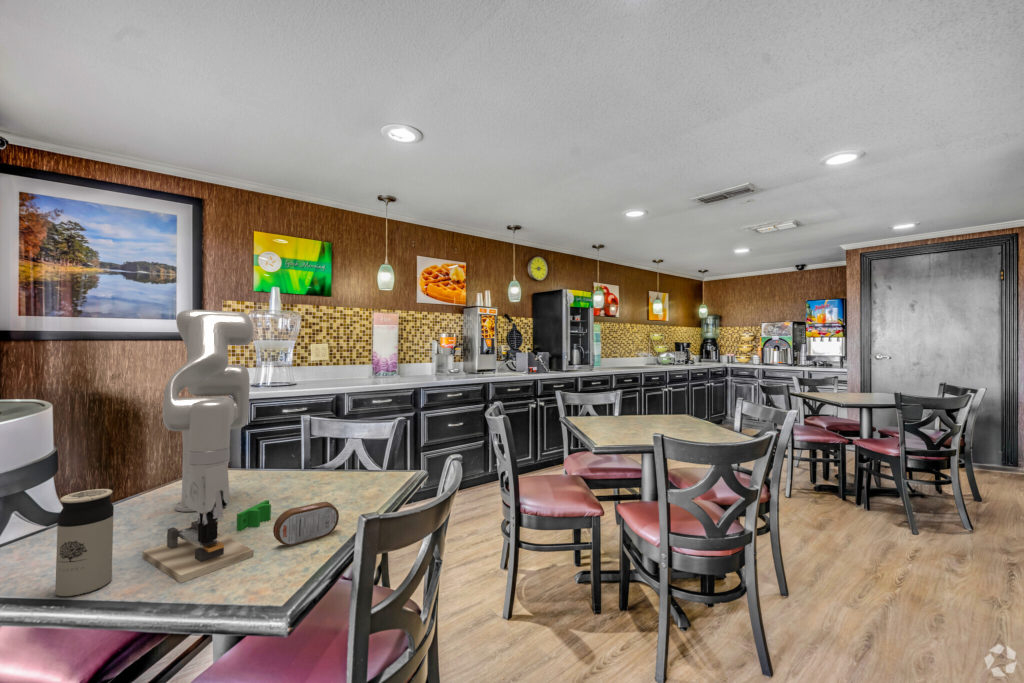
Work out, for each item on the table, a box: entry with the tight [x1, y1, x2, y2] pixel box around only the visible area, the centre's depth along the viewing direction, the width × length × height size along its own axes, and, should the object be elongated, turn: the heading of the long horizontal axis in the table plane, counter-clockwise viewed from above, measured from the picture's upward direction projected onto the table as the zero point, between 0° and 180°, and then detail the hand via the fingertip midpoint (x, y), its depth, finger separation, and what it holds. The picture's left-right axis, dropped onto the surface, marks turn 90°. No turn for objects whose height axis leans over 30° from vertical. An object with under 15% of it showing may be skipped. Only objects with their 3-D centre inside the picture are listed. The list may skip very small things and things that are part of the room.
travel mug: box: [54, 488, 115, 597], centre depth 88 cm, size 8×8×18 cm
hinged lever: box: [178, 526, 224, 553], centre depth 100 cm, size 16×3×1 cm, turn 57°
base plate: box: [141, 520, 254, 584], centre depth 100 cm, size 20×14×6 cm
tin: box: [272, 501, 340, 547], centre depth 110 cm, size 15×3×8 cm, turn 135°
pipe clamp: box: [236, 499, 272, 532], centre depth 120 cm, size 11×4×5 cm, turn 173°
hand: (207, 540), depth 98 cm, fingers closed
